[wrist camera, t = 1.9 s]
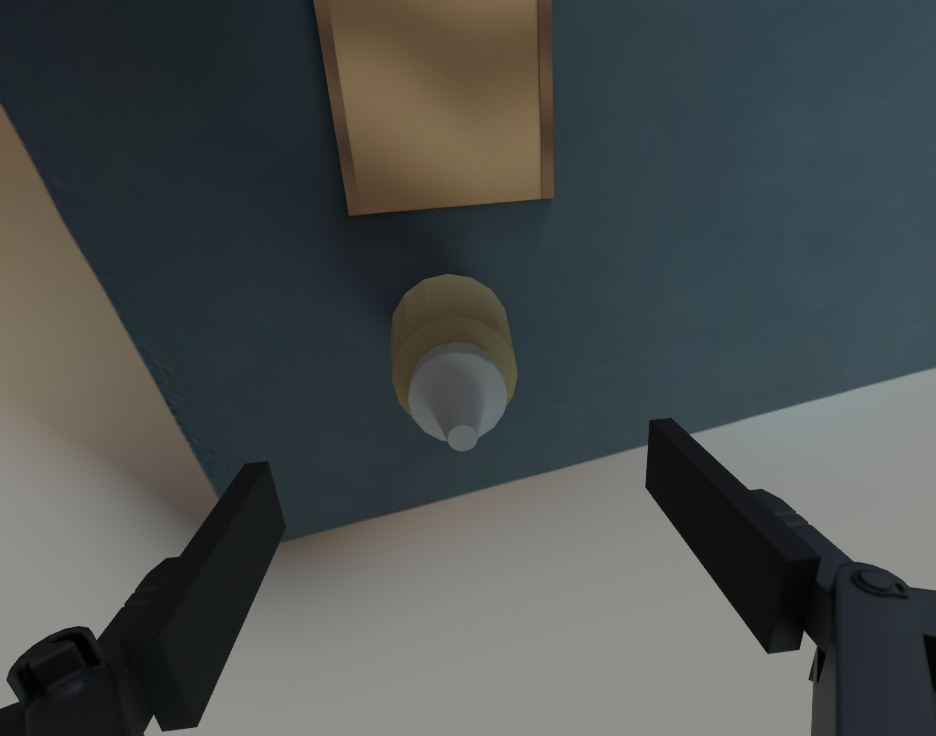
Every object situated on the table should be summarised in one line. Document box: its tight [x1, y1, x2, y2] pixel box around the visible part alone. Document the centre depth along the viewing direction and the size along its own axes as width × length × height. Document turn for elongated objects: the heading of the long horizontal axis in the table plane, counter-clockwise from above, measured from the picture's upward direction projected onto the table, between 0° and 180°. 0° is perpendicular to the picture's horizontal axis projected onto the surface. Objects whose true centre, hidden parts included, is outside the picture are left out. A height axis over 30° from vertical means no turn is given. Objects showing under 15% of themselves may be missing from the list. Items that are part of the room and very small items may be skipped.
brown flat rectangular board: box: [313, 0, 554, 216], centre depth 28 cm, size 20×14×1 cm
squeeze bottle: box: [390, 274, 518, 451], centre depth 26 cm, size 8×8×18 cm
